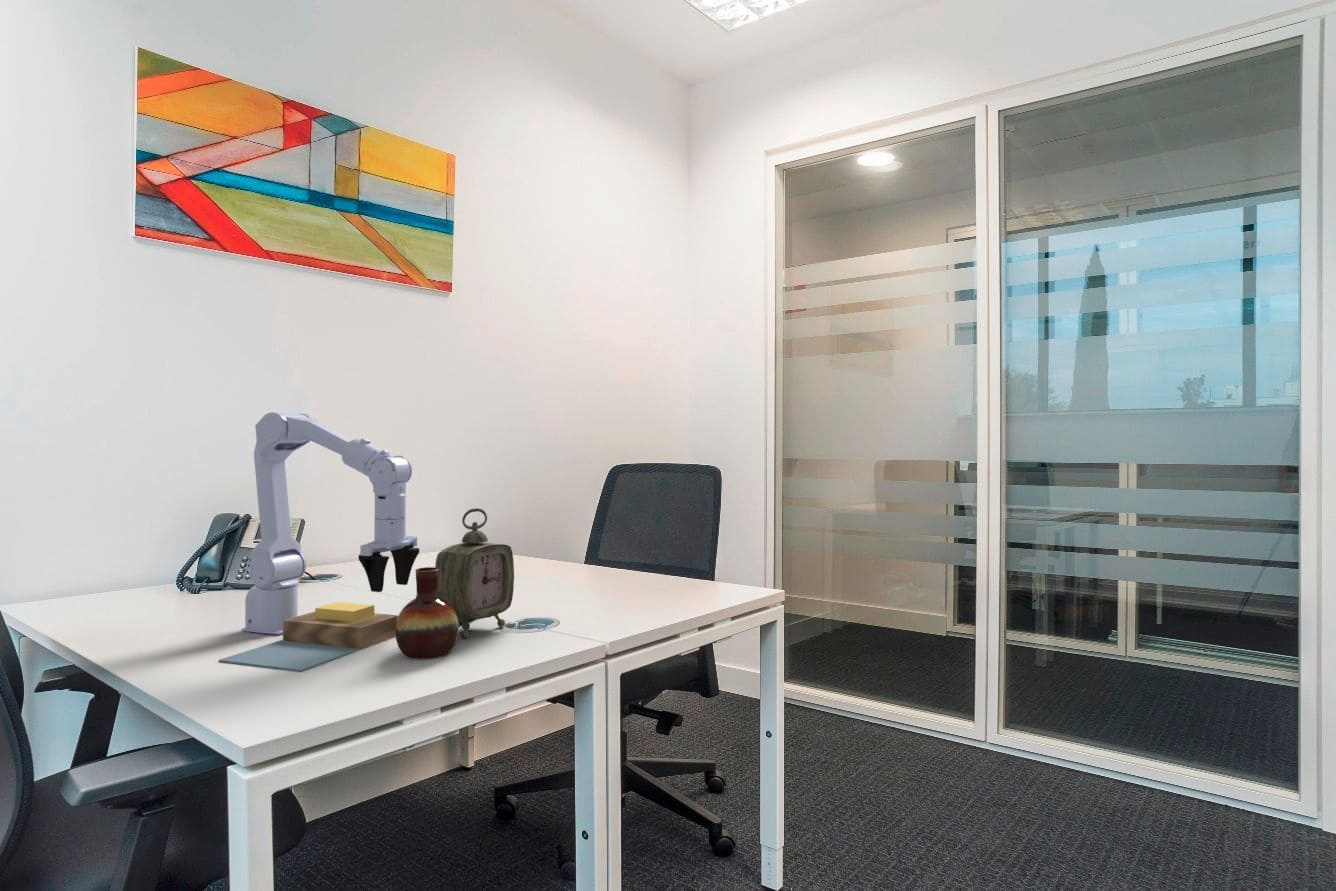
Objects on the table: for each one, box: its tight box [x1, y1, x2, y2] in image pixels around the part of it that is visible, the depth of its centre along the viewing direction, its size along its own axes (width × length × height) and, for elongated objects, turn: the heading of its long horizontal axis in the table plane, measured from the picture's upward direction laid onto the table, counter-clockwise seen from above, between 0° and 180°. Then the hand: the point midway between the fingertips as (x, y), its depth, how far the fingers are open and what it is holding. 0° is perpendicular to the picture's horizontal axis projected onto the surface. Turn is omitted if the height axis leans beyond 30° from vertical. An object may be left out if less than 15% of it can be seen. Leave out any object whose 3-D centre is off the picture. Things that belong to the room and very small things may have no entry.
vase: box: [395, 566, 460, 660], centre depth 144 cm, size 11×11×15 cm
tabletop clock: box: [434, 507, 515, 639], centre depth 160 cm, size 14×9×25 cm, turn 151°
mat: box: [218, 639, 360, 673], centre depth 142 cm, size 18×14×1 cm
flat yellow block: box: [314, 601, 375, 622], centre depth 155 cm, size 9×6×2 cm, turn 72°
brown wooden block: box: [282, 610, 399, 651], centre depth 154 cm, size 18×11×4 cm, turn 72°
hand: (389, 587), depth 154 cm, fingers open, 7 cm apart
